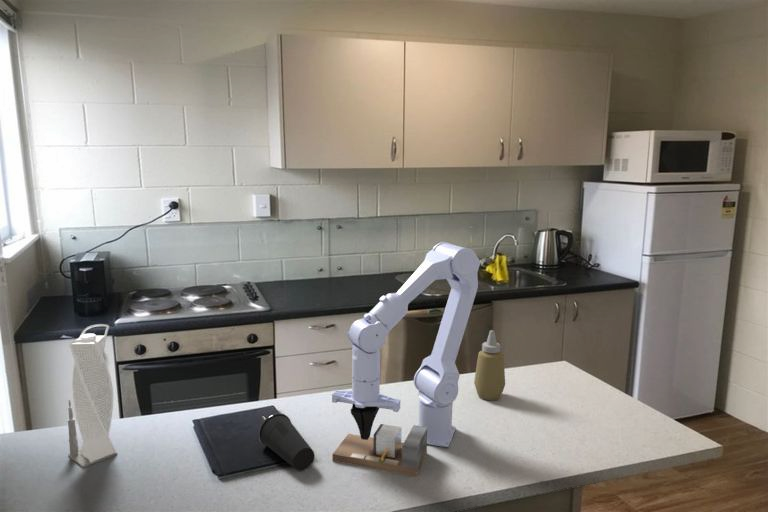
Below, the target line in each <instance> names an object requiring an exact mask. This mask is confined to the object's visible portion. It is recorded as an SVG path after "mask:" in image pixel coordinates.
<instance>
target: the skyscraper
mask: <svg viewBox="0 0 768 512" xmlns="http://www.w3.org/2000/svg"><path fill="white" fill-rule="evenodd" d="M95 327H96V328H97V327H104V328H105V327H106V328H105V331H104V335H97V334H95V333H91V332H89V333H86V332H87V330H90V329H92V328H95ZM109 329H110V325H109V324H104V323H96V324H91V325H89V326H86V328H84V329H83V330H82V331H81V333H80V335H79V337H78V338H77V339H75V340H72V341H70V342H69V344H68V345H69V348H70V351H71V352H70V353H71V355H72V357H73V361H74V363H73V370H72V383H71V384H72V385H71V386H72V387H71V388H72V389H71V390H72V401H73V406H74V407H73V406H72V404H71V399H68V407H67V409H68V410H67V411H68V418H67V424H68V425H67V427H68V442H69V454H67V455H68V458H70V459H71V460H73V461H74V462H75V463H77V465H79V466H80V467H81V468H83V469H85V468H86V467H89V466H92V465H94V464H96V463H99V462H101V461H104V460H107V459H109V458H111V457H114V456H115V455H116V456H117V455H118V452H117V449H116V447H115V446H114V444H113V441H112V440H111V438H110V429H111V426H112V419H113V410H114V387H113V381H112V377H111V373H110V370H109V368H108V365H107V362H106V360H105V358H104V352H105V347H106V341H107V335H108V332H109ZM73 408H74V412H75V417H74V413H73ZM76 422H77V425H78V430H79V434H80V436H81V440H82V444H81V448H79V443H78V442H79V441H78V439H79V437H78V434H77V428H76V427H77V425H76Z"/></svg>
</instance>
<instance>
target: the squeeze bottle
mask: <svg viewBox="0 0 768 512" xmlns="http://www.w3.org/2000/svg"><path fill="white" fill-rule="evenodd" d="M504 356H505V355H504V353H503V352H502V351H501V343H499V342H497V339H496V334H495V330H493V329H491V330H489V333H488V336H487V339H486V341H484V342H483V343H481V350H480V351H479V352H478V355H477V361H476V367H475V376H474V379H473V380H474V382H473V383H474V386H475V390H476V393H477V396H478V398H480V399H481V400H482V399H483V400H486V401H496V400H499V399H500V398H501V396H502V394H503V391H504V389H505V386H506V373H505V358H504Z"/></svg>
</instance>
